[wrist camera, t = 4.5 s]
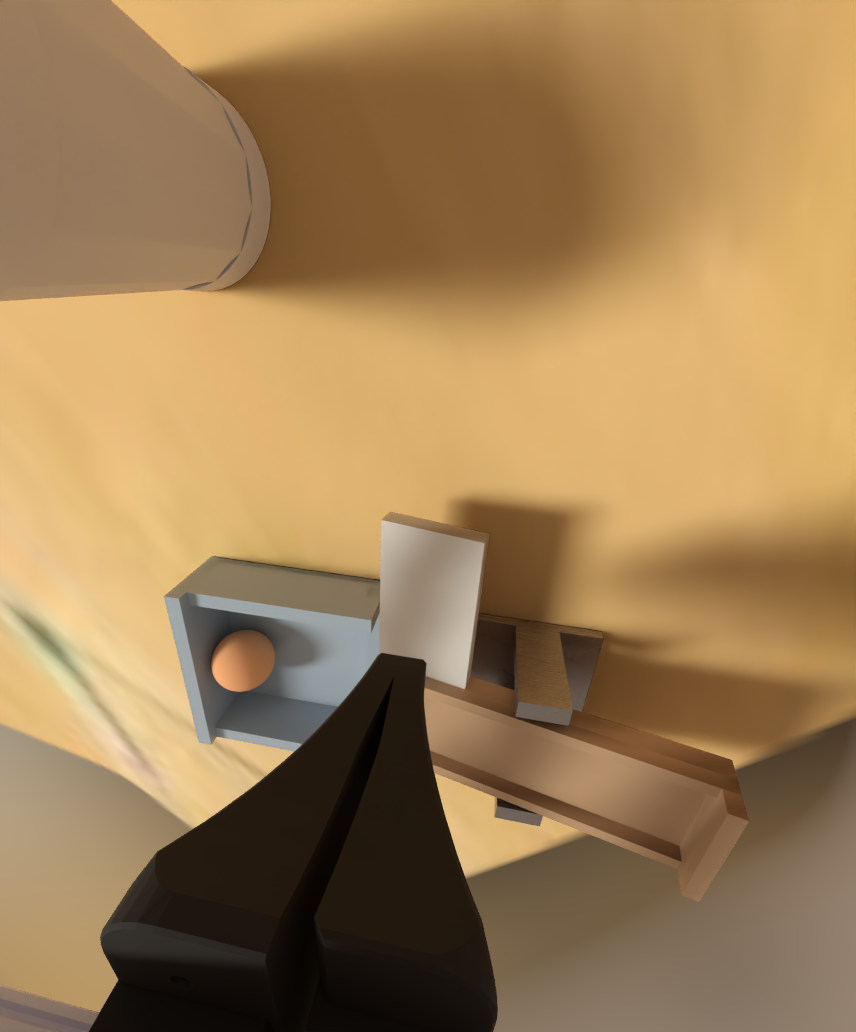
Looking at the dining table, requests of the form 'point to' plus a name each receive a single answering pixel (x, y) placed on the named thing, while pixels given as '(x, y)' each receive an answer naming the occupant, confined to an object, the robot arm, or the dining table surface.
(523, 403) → the dining table surface
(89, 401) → the dining table surface
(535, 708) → the stand
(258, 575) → the tray
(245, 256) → the cup
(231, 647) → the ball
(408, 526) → the seesaw
